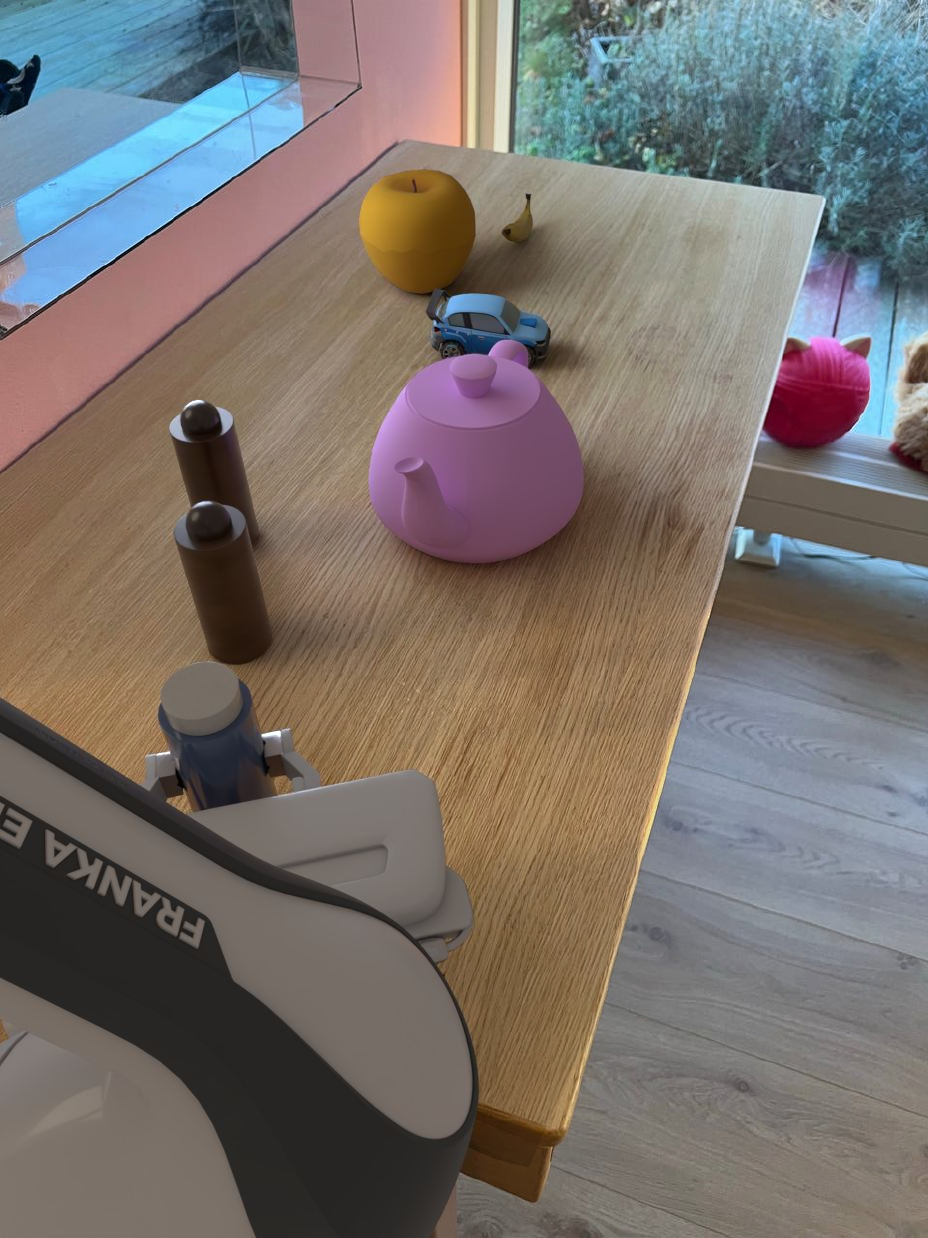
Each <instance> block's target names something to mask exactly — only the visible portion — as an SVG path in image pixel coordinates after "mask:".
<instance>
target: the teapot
mask: <svg viewBox="0 0 928 1238" xmlns="http://www.w3.org/2000/svg"><path fill="white" fill-rule="evenodd" d="M370 457H371V458H370V462H369V468H368V490H369V493H368V494H369V499H370V503H371V506H372V508H373V509H374V512H375V514H376V515H377V517H378V519H379V521H380V522H381V523H382V524H383V526H384V527H385V528H386V529H388V530H389V532H390V533H392V534H393V535H394V536H396V537H397V538H399V539H400V540H401V541H402V542H404V543H405V544H407V545H409V546H410V547H412V548H414V549H416V550H418V551H420V552H422V553H424V554H426V555H429V556H430V557H434V558H437V559H440V560H444V561H449V562H453V563H454V562H455V563H461V564H490V563H496V562H503V561H506V560H510V559H514V558H517V557H519V556H522V555H524V554H525V555H526V554H527V553H528V552H530V551H532V550H535V549H536V548H538V547H540V546H541V545H543V544H544V543H546V542H547V541H549V540H550V539H552V538H553V537H554V536H555V535H557V534H558V533H559V532H560V531H562V530H563V529H564V528H565V527H566V525H567V524H568V523H570V521H571V520H572V518H573V516H574V515H575V513H576V511H577V509H578V508H579V506H580V504H581V501H582V498H583V493H584V486H585V485H584V484H585V483H584V481H585V475H584V465H583V460H582V458H583V457H582V454H581V449H580V446H579V442H578V439H577V436H576V433H575V431H574V429H573V426H572V424H571V422H570V420H569V419H568V417H567V415H566V414H565V412H564V410H563V408H562V407H561V406H560V404H559V403H558V401H557V400H556V398H555V397H554V396H553V394H552V392H551V391H550V390H549V389H548V387H547V386H546V385H545V383H544V382H543V381H542V380H541V379H540V378H539V377H538V375H536V373H534V372H533V371H532V370H531V369H529V366H528V352H527V349H526V347H525V346H524V345H523V344H522V343H520V342H517V341H514V340H502V341H499V342H497V343H496V344H495V345H494V346H493V348H492V349H491V351H490V353H489V355H481V354H467V355H466V354H465V355H463V356H457V357H452V358H447V359H441V360H438V361H436V362H433V363H431V364H429V365H427V366H426V367H424V368H423V369H421V370H420V371H418V372H417V373H416V374H415V375H413V377H412V378H411V379H410V380H409V381H408V382H407V384H405V386H404V387H403V389H402V390H401V392H400V393H399V395H397V398H396V400H395V401H394V403H393V404H392V406H391V408H390V410H389V411H388V412H387V414H386V416H385V418H384V420H383V421H382V423H381V426H380V428H379V430H378V431H377V435H376V438H375V440H374V444H373V447H372V452H371V456H370Z"/></svg>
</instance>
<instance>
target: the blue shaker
mask: <svg viewBox="0 0 928 1238" xmlns="http://www.w3.org/2000/svg"><path fill="white" fill-rule="evenodd" d="M159 700H160V703H159V706H158V711H157V720H158V725H159V727H160V730H161V732H162V735H163V737H164V740H165V743H166V745H167V748H168V751H170V754H171V756H172V759H173V762H174V764H175V767H176V770H177V772H178V775H179V778H180V780H181V783H182V786H183V792H184V793H185V796H186V799H187V802H188V804H189V806H190V807H189V808H190V809H191V813H192V812H197V811H202V810H207V809H212V808H217V807H222V806H227V805H232V804H237V803H242V802H247V801H252V800H257V799H262V798H267V797H272V796H277V795H279V794H278V790H277V787H276V783H275V779H274V777H272V778H270V776H269V772H268V766H267V765H266V761H265V757H264V741H263V737H262V730H261V726H260V721H259V719H258V715H257V712H256V707H255V703H254V700H253V696H252V693H251V691H250V688H249V687H248V686H247V683H245V682H244V681H243V680H242V679H240V678H239V677H238V675H237V674H236V673H235V672H234V670H233V669H232V668H231V667H229V666H227V665H226V664H225V663H221V662H216V661H210V660H209V661H208V660H207V661H206V660H205V661H197V662H193V663H190V664H187V665H185V666H183V667H181V668H179V669H178V670H175V672H173V673H172V674H171V675H170V676H169V677H168V678H167V679H166V680H165V681H164V684H163V685H162V687H161V691H160V699H159Z"/></svg>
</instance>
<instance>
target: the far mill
mask: <svg viewBox="0 0 928 1238" xmlns="http://www.w3.org/2000/svg"><path fill="white" fill-rule="evenodd" d="M235 423H236V422H235V419H234V416H233V415H232V413H231V412H230V411H228V409H225V408H223V407H219V406H215V405H214V404H212V402H210V401H207V400H203V399H195V400H192V401H189V402H188V403H187V404H185V405H184V407H183V408H182V409H181V412H180V413H179V414H178V415H176V416H175V417H174V418H173V419H172V420H171V422H170V424H169V426H168V427H169V428H168V431H169V434H170V438H171V442H172V444H173V445H172V446H173V449H174V451H175V452H174V453H175V455H176V459H177V463H178V466H179V469H180V473H181V477H182V480H183V484H184V487H185V492H186V495H187V498H188V501H189V505H190V509H191V508H192V507H193V506H194V505H195V504H197V503H199V502H202V501H214V502H217V503H219V504H221V505H227V506H231V507H233V508H236V509H237V510H239V511H240V512H241V513H242V514H243V515H244V517H245V519H246V523H247V527H248V532H249V536H250V540H251V544H252V545H253V544H254V543H255V542H256V541H257V539H258V537H259V534H260V530H259V525H258V521H257V517H256V512H255V507H254V502H253V498H252V495H251V490H250V486H249V481H248V475H247V472H246V468H245V463H244V459H243V455H242V450H241V446H240V440H239V437H238V436H239V435H238V432H237V428H236V424H235Z"/></svg>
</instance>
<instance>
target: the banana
mask: <svg viewBox="0 0 928 1238" xmlns="http://www.w3.org/2000/svg"><path fill="white" fill-rule="evenodd" d="M524 194H525V199H526V204H525V207H524V209H523V211H522V212H521V214H520V215H519V217H518V218H517V219H516V220H515V221H514V222H511V223H508V224H506V225H505V226H504V227H503V228H502V230H501V236H503V237H504V238H505V240H507V241H508V242H510V243H512V244H518V243H520V242H523V241H524V240H525V239H527V238H528V237H529V235H530V234H531V232H532V230H533V224H534V219H533V214H532V212H531V200H532V193H526V192H525V193H524Z"/></svg>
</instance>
